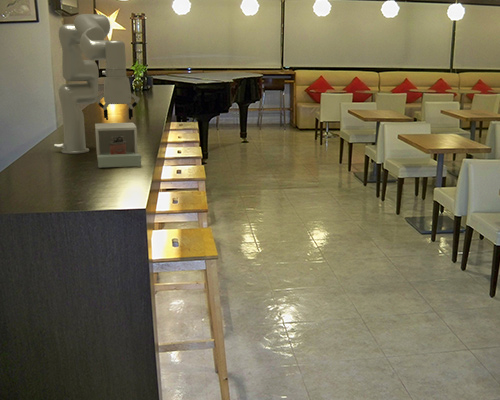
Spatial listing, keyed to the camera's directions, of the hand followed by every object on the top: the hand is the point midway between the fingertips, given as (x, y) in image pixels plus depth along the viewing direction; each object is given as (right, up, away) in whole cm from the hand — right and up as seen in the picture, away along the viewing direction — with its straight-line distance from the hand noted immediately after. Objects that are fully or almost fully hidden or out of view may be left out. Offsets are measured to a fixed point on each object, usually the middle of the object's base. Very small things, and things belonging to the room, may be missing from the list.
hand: (118, 119), depth 233 cm
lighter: (-4, -15, +19) cm, 25 cm away
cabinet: (-8, -13, +33) cm, 37 cm away
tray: (-4, -16, +19) cm, 25 cm away
